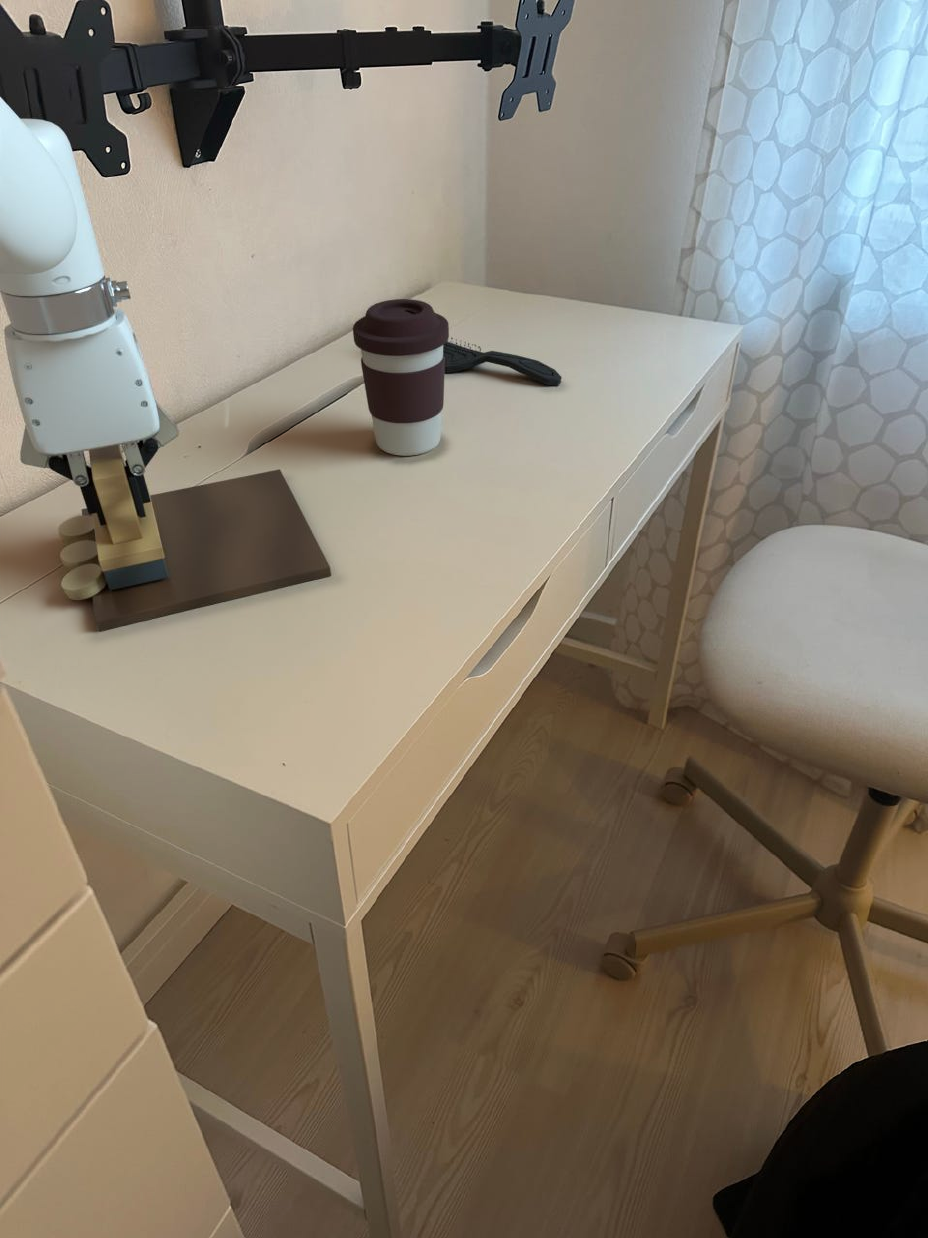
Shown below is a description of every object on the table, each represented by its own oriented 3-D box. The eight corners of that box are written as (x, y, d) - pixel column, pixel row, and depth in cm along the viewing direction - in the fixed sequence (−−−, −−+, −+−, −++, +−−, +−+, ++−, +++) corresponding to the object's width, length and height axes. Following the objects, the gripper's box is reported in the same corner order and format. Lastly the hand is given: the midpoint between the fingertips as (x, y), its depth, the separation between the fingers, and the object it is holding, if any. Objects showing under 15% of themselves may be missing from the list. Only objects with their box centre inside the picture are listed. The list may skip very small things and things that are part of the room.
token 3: (70, 606, 76) (63, 595, 75) (64, 585, 79) (58, 575, 78) (111, 588, 77) (104, 577, 76) (104, 568, 80) (97, 557, 79)
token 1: (59, 548, 83) (55, 537, 82) (65, 528, 86) (61, 517, 85) (99, 543, 83) (95, 532, 83) (103, 524, 86) (100, 513, 85)
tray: (98, 631, 74) (95, 622, 74) (84, 517, 89) (81, 508, 88) (331, 575, 80) (330, 566, 79) (281, 477, 95) (280, 468, 94)
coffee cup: (369, 467, 96) (356, 329, 87) (360, 428, 104) (346, 297, 95) (460, 457, 97) (456, 320, 88) (444, 419, 105) (438, 289, 96)
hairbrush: (547, 374, 108) (375, 331, 117) (545, 403, 110) (376, 358, 119) (575, 351, 113) (408, 312, 123) (572, 379, 116) (409, 338, 125)
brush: (108, 591, 77) (76, 494, 71) (99, 523, 85) (69, 432, 80) (170, 577, 78) (143, 481, 72) (154, 511, 87) (130, 421, 81)
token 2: (66, 577, 79) (62, 565, 78) (61, 557, 82) (57, 546, 81) (108, 566, 80) (104, 555, 79) (102, 547, 83) (99, 536, 82)
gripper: (162, 277, 73) (207, 477, 84) (-53, 306, 69) (25, 513, 80) (174, 305, 68) (220, 515, 79) (-59, 338, 63) (25, 556, 74)
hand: (121, 512), depth 79 cm, fingers closed on brush, 2 cm apart
